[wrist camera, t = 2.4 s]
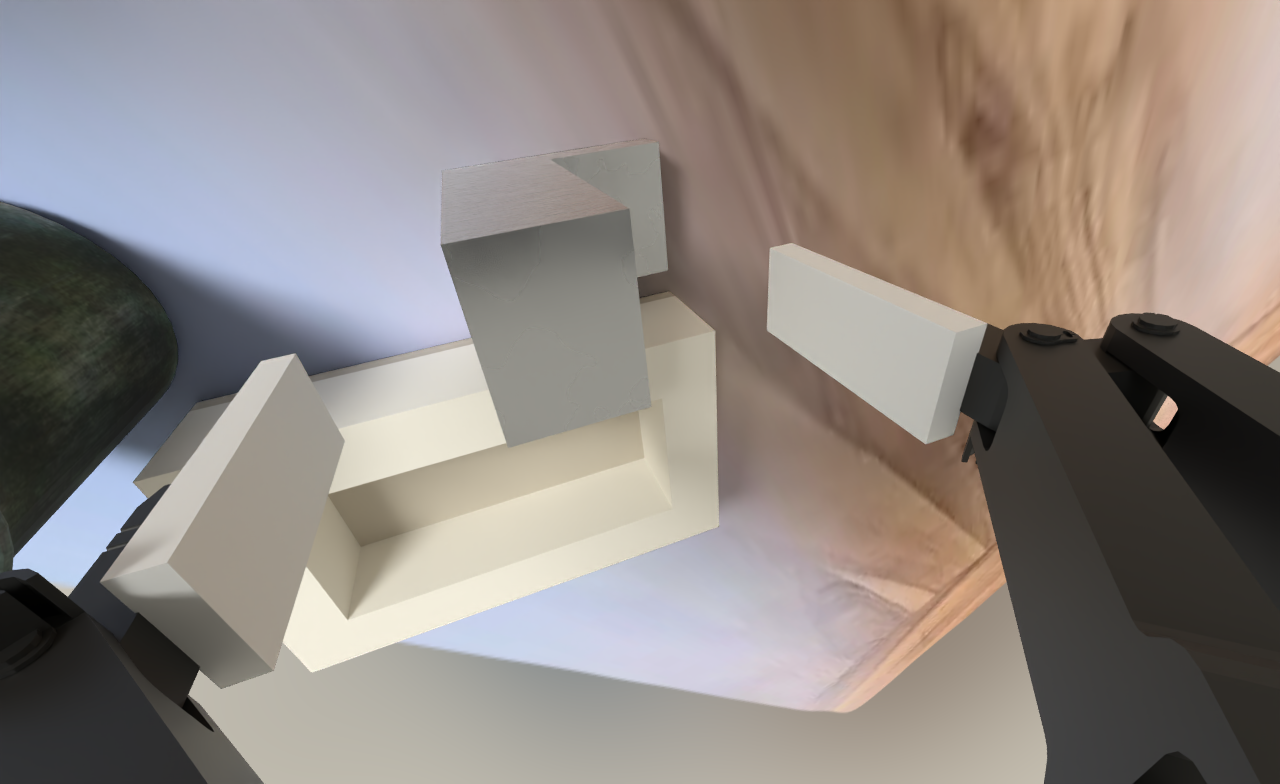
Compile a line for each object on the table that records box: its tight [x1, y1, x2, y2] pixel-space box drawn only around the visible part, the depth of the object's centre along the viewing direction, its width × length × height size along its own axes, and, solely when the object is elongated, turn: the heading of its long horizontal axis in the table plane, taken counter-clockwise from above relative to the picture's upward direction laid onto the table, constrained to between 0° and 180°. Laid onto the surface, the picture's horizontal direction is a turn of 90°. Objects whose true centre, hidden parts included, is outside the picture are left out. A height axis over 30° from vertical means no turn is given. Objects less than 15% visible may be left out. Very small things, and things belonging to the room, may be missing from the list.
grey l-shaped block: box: [441, 139, 668, 448], centre depth 19 cm, size 6×10×13 cm, turn 96°
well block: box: [133, 291, 719, 673], centre depth 27 cm, size 14×24×6 cm, turn 96°
